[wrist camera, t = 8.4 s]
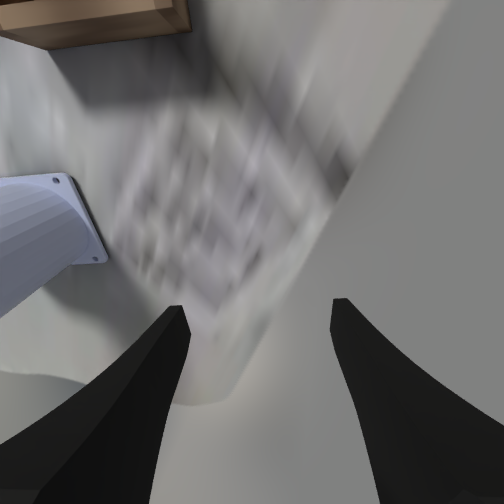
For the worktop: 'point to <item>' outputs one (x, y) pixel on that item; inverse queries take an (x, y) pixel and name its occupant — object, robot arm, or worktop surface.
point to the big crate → (90, 21)
